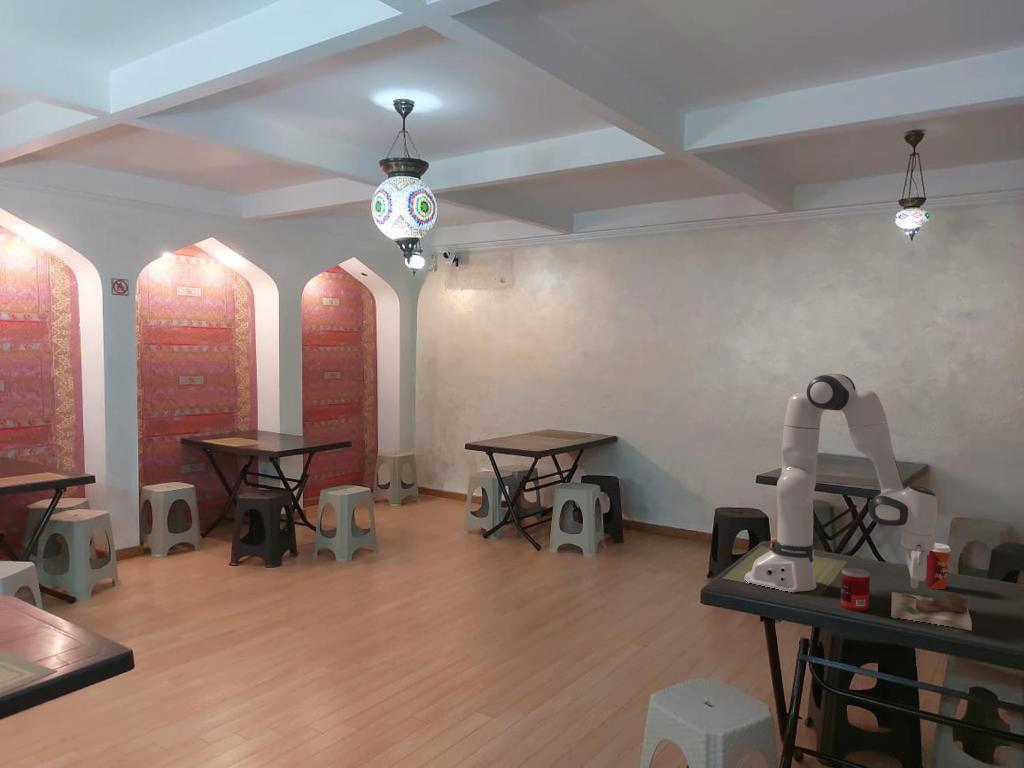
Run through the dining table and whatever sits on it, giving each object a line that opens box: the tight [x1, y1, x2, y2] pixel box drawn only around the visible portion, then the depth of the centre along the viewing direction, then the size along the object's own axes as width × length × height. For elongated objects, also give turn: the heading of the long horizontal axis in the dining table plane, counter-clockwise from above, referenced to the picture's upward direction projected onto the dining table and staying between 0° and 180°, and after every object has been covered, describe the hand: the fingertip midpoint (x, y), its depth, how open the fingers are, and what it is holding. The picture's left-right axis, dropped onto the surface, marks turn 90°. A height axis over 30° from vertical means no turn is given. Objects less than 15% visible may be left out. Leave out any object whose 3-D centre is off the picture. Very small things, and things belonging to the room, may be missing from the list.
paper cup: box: [925, 542, 952, 590], centre depth 243 cm, size 8×8×14 cm
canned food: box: [840, 567, 871, 612], centre depth 224 cm, size 8×8×11 cm
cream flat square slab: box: [890, 591, 973, 631], centre depth 219 cm, size 20×19×2 cm
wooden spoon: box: [916, 594, 968, 612], centre depth 215 cm, size 14×5×4 cm, turn 95°
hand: (913, 586), depth 220 cm, fingers closed
